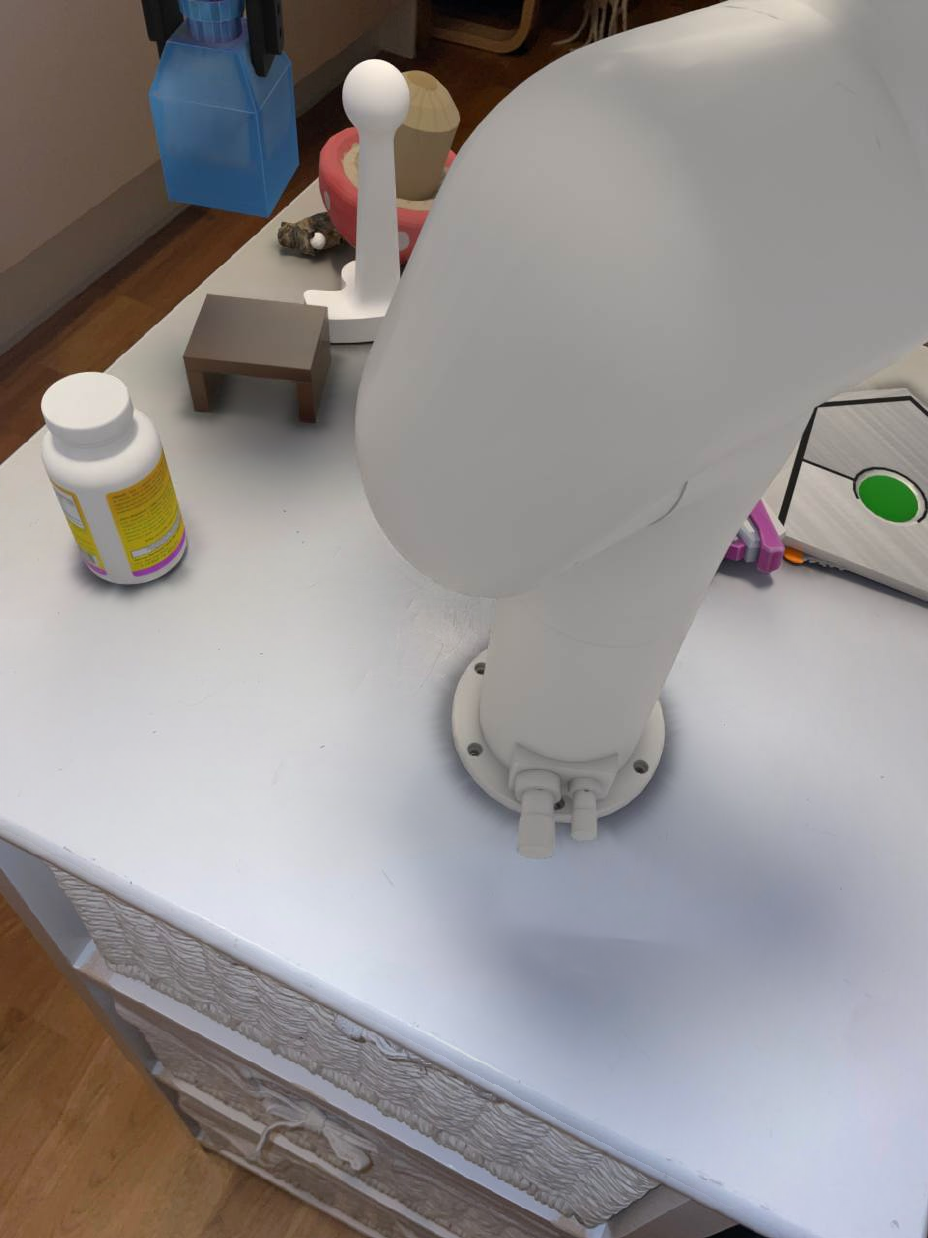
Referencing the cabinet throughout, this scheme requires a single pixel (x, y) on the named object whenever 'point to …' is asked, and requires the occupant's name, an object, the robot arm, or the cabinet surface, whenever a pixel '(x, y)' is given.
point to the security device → (861, 488)
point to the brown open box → (259, 348)
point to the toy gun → (759, 539)
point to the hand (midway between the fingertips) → (219, 56)
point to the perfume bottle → (222, 114)
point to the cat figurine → (310, 234)
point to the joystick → (370, 205)
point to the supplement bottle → (111, 479)
